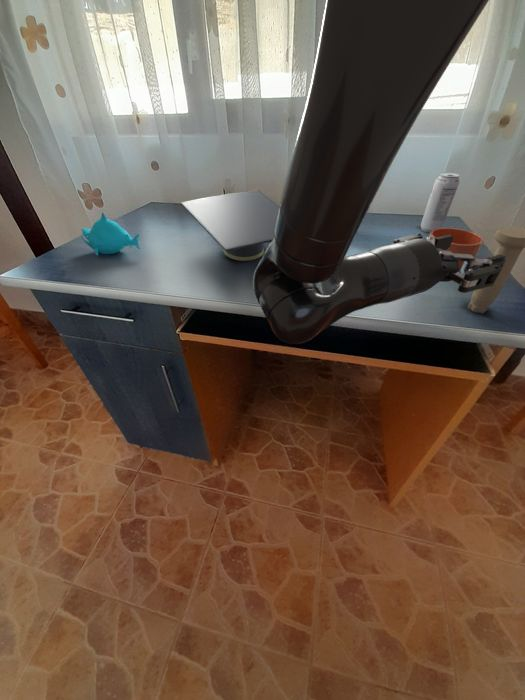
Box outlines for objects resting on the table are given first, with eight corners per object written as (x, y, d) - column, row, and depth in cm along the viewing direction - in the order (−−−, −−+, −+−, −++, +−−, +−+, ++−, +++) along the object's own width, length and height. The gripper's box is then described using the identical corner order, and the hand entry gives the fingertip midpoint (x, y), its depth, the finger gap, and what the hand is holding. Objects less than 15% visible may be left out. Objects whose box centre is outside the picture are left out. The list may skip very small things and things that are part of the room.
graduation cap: (185, 239, 85) (179, 201, 77) (257, 224, 93) (258, 188, 85) (224, 292, 68) (221, 250, 61) (307, 269, 76) (314, 230, 69)
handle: (500, 313, 57) (548, 235, 47) (472, 318, 56) (515, 239, 46) (480, 300, 61) (521, 225, 51) (453, 305, 59) (490, 229, 50)
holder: (478, 259, 75) (489, 235, 71) (462, 274, 69) (474, 249, 65) (432, 247, 81) (440, 224, 77) (414, 260, 75) (422, 236, 71)
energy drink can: (433, 226, 94) (453, 172, 84) (444, 233, 89) (466, 176, 79) (415, 227, 93) (433, 172, 83) (425, 234, 89) (445, 177, 79)
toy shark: (101, 243, 86) (87, 203, 79) (155, 250, 81) (145, 209, 74) (76, 257, 79) (57, 214, 72) (134, 265, 74) (120, 221, 67)
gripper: (450, 267, 33) (537, 243, 39) (365, 228, 43) (444, 212, 48) (426, 321, 38) (506, 293, 44) (355, 275, 48) (427, 256, 53)
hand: (473, 251), depth 46 cm, fingers open, 8 cm apart
